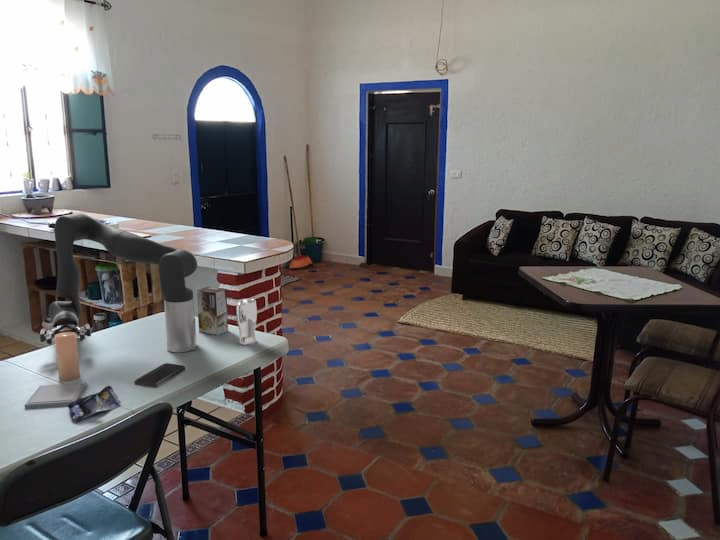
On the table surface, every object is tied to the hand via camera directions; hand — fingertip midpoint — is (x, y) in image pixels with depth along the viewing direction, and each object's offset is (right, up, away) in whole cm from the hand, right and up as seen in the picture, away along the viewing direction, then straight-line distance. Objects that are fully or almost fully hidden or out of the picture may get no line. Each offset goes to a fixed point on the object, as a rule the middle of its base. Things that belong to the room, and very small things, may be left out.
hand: (65, 339), depth 170 cm
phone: (+32, -11, -6) cm, 34 cm away
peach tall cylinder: (+5, -10, -8) cm, 14 cm away
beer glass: (+51, -4, +23) cm, 57 cm away
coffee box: (+37, -1, +34) cm, 50 cm away
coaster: (+9, -13, -21) cm, 26 cm away
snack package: (+22, -15, -28) cm, 39 cm away
